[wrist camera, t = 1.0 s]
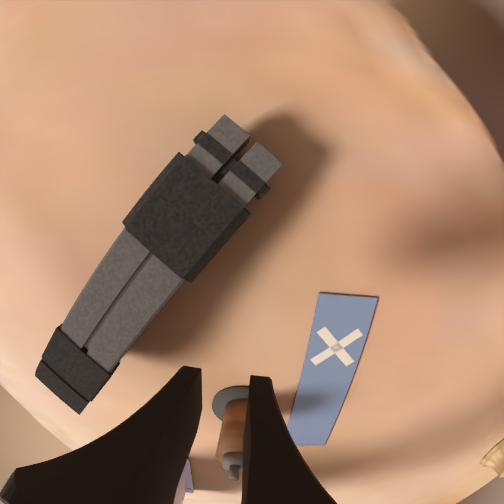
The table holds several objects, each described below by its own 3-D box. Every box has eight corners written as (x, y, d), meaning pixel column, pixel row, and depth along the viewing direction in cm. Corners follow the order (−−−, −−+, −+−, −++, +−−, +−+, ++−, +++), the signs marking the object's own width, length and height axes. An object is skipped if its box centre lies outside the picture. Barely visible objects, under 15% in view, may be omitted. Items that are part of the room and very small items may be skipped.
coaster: (269, 427, 22) (269, 430, 22) (212, 421, 22) (211, 423, 22) (277, 389, 21) (277, 392, 20) (212, 382, 21) (212, 384, 21)
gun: (69, 343, 21) (10, 392, 11) (213, 160, 22) (220, 105, 12) (108, 376, 22) (66, 442, 12) (256, 197, 23) (293, 167, 13)
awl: (258, 421, 22) (252, 488, 15) (224, 417, 22) (212, 483, 15) (261, 400, 21) (256, 471, 14) (225, 396, 21) (211, 465, 14)
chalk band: (323, 444, 23) (324, 445, 22) (282, 443, 23) (282, 445, 23) (377, 297, 18) (377, 298, 18) (319, 292, 18) (319, 293, 18)
